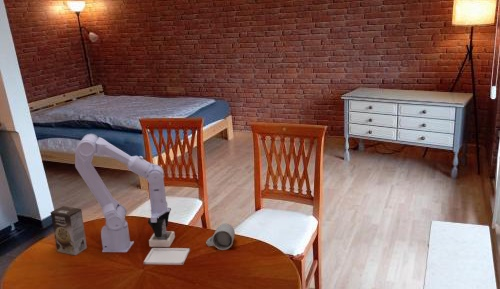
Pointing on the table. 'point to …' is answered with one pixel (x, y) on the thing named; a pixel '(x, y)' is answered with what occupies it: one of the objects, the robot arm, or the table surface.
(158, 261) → the tray
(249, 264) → the table surface
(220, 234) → the ceramic mug
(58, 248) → the coffee box
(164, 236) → the steel pin
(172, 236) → the square socket block
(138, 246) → the table surface
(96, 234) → the table surface
